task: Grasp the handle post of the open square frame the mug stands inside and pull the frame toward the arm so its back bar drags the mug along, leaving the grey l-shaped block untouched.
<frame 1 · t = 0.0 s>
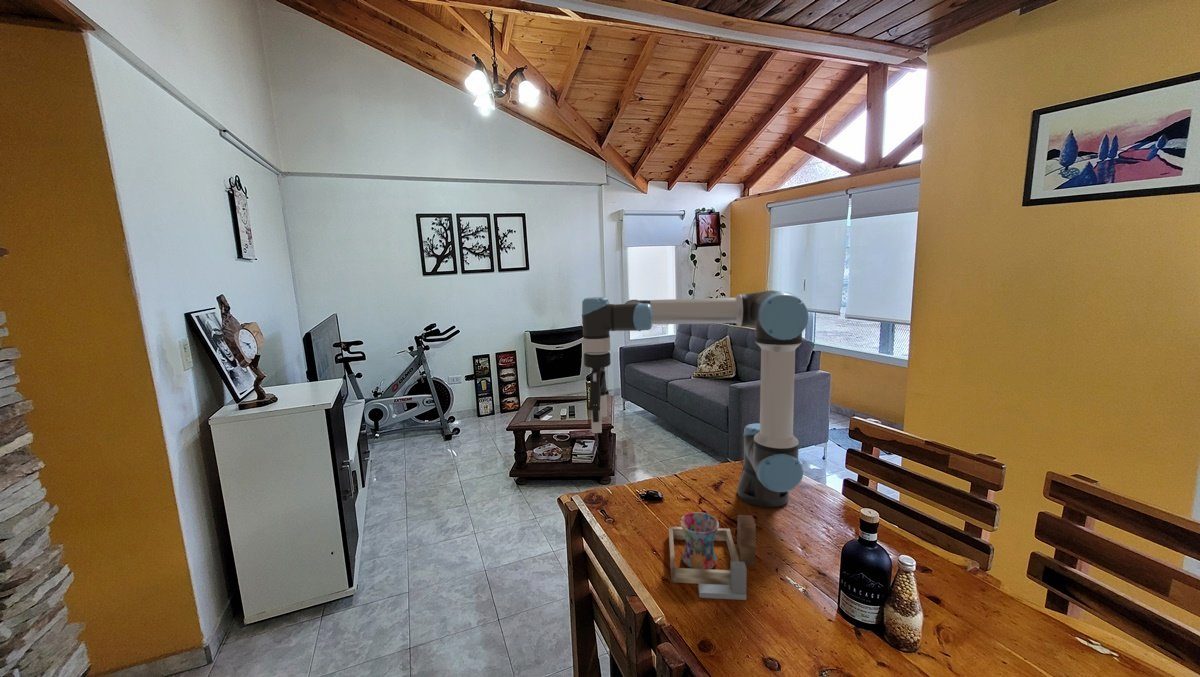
hand: (599, 424, 130), 28 cm above the table, fingers open, 13 cm apart
grey l-shaped block: (721, 579, 99), point 4 cm above the table, slide at 0.0 cm
open square frame: (711, 539, 111), point 6 cm above the table, slide at 0.0 cm
mug: (702, 560, 112), resting in open square frame
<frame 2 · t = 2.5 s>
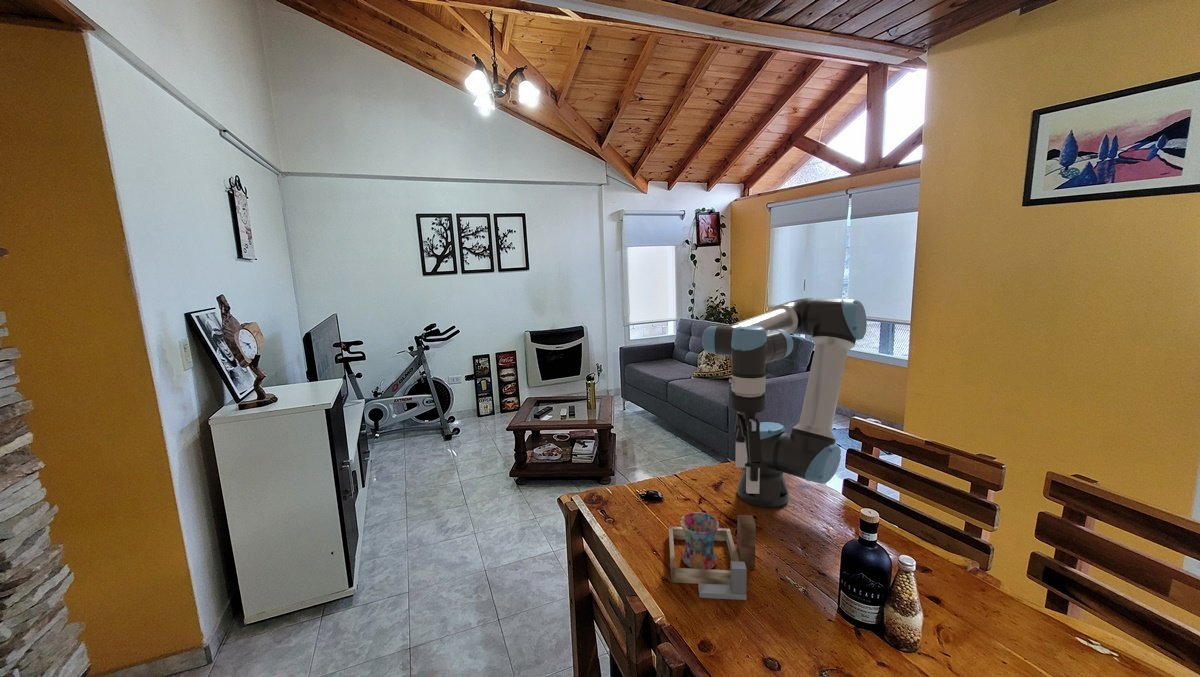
hand: (746, 479, 107), 21 cm above the table, fingers open, 13 cm apart
nothing on the table moved.
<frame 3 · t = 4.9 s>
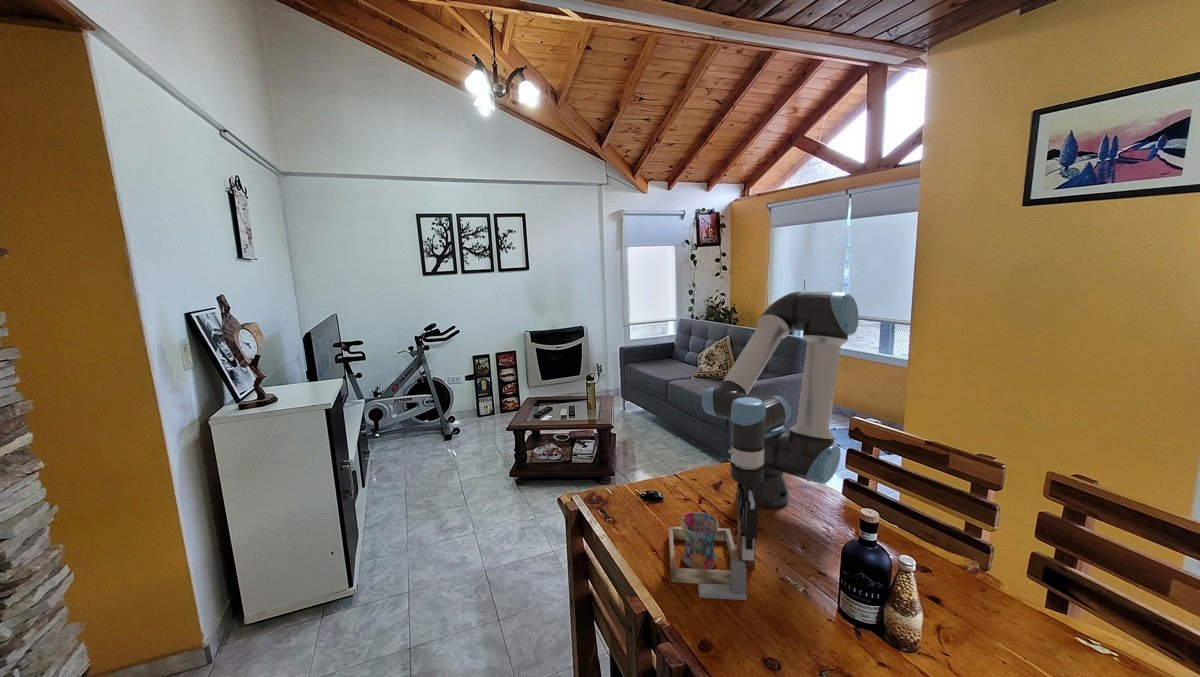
hand: (746, 552, 110), 2 cm above the table, fingers closed on open square frame, 4 cm apart
open square frame: (711, 539, 111), point 6 cm above the table, slide at 0.0 cm, touching gripper
everything else where it was.
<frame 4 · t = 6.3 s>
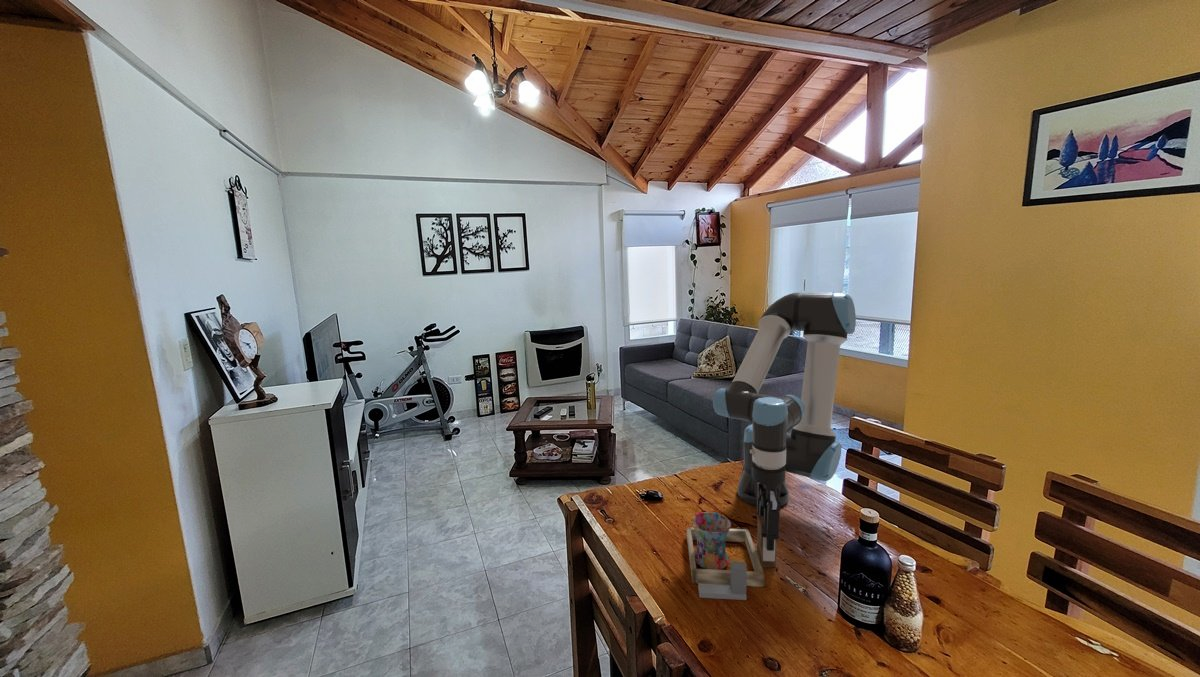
hand: (766, 553, 110), 2 cm above the table, fingers closed on open square frame, 4 cm apart
open square frame: (731, 539, 110), point 6 cm above the table, slide at 4.8 cm, touching gripper, mug
mug: (713, 559, 112), resting in open square frame
everything else where it was.
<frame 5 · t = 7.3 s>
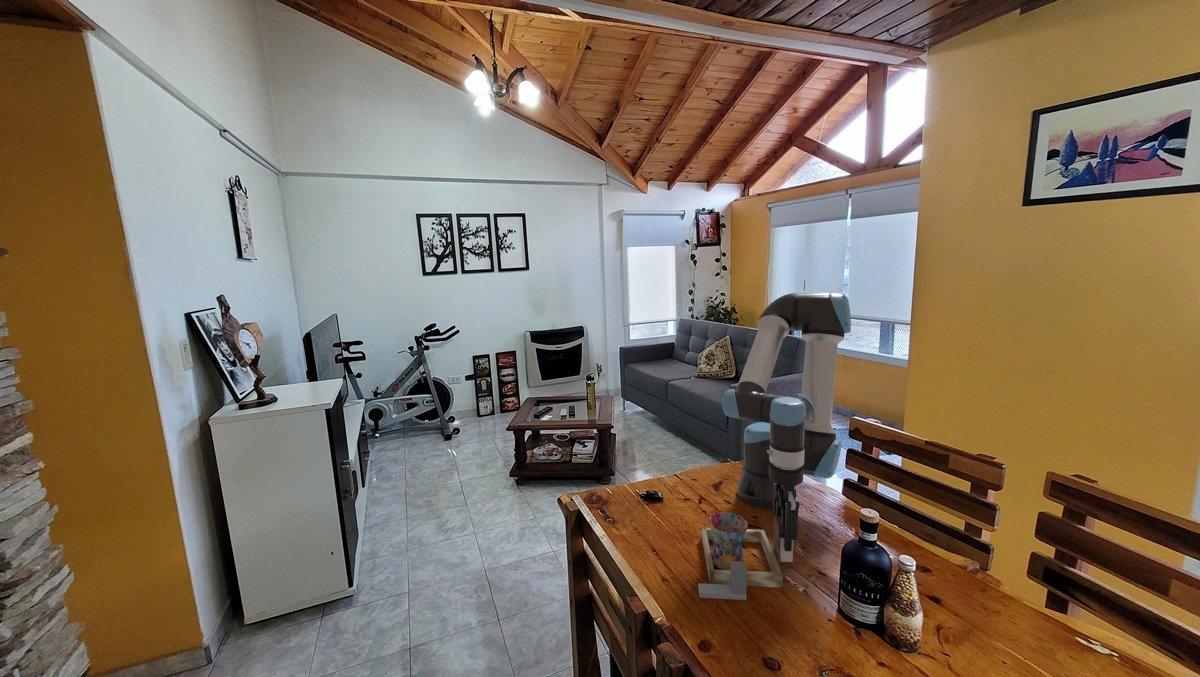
hand: (783, 554, 109), 2 cm above the table, fingers closed on open square frame, 4 cm apart
open square frame: (747, 540, 110), point 6 cm above the table, slide at 8.8 cm, touching gripper, mug
mug: (729, 560, 111), resting in open square frame
everything else where it was.
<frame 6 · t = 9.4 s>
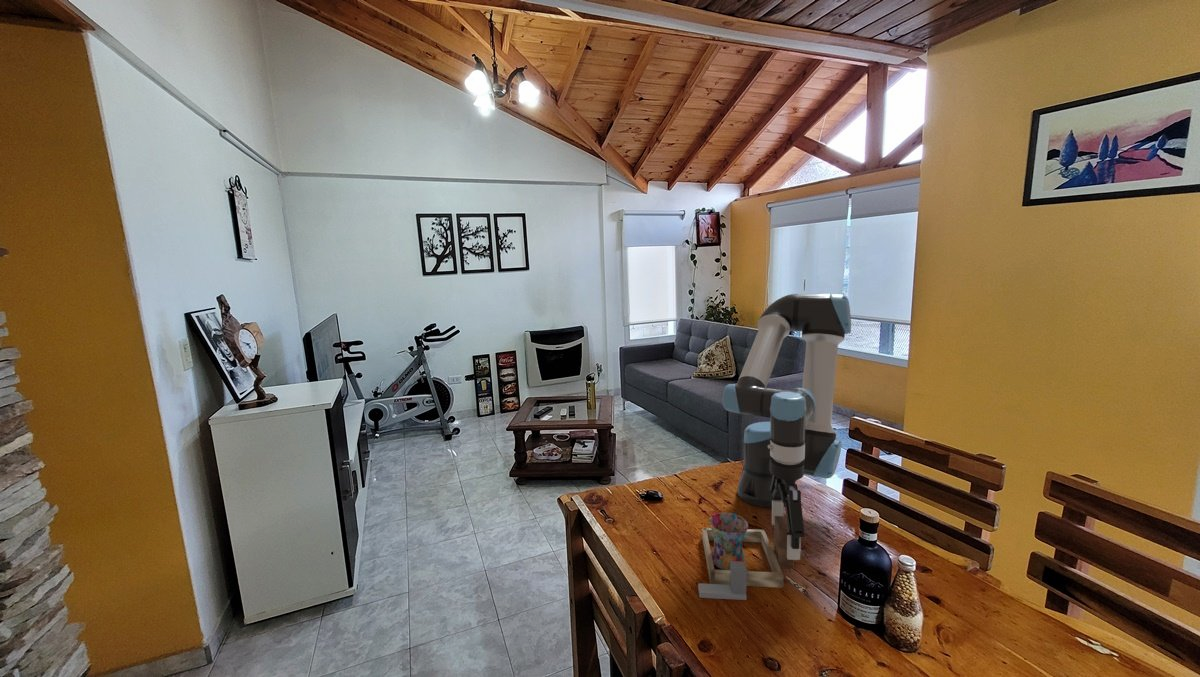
hand: (784, 540, 109), 6 cm above the table, fingers open, 13 cm apart
open square frame: (748, 540, 110), point 6 cm above the table, slide at 8.9 cm
mug: (730, 560, 111), resting in open square frame
everything else where it was.
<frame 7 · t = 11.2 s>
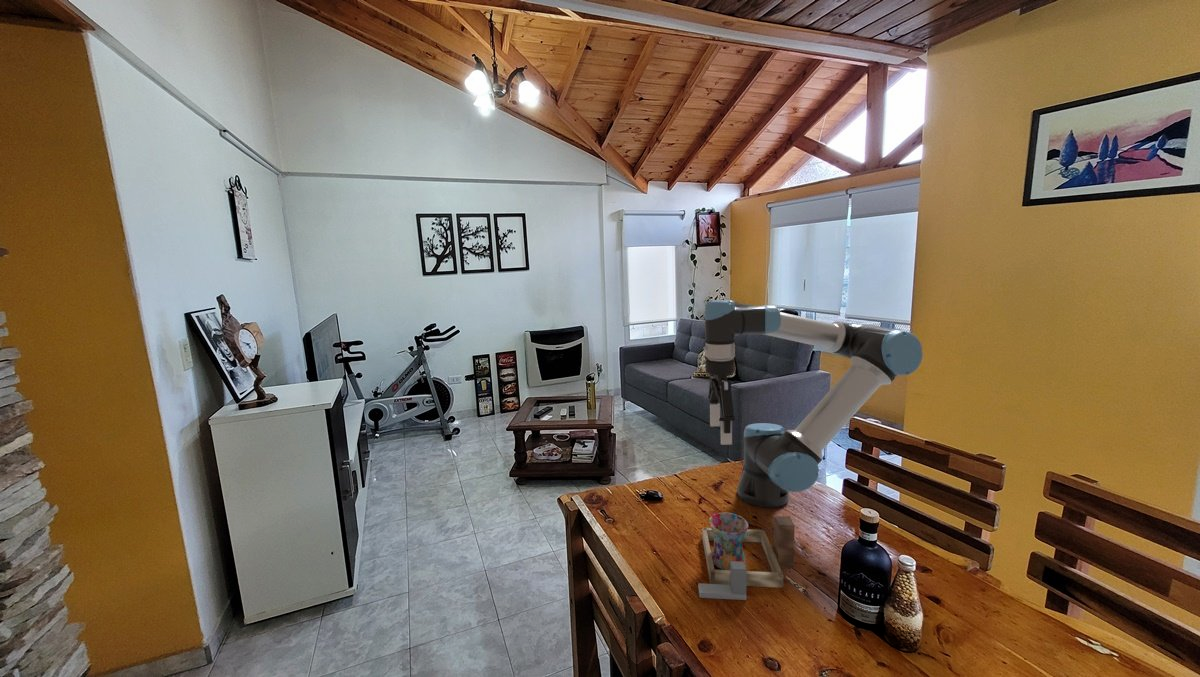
hand: (720, 434, 123), 27 cm above the table, fingers open, 13 cm apart
nothing on the table moved.
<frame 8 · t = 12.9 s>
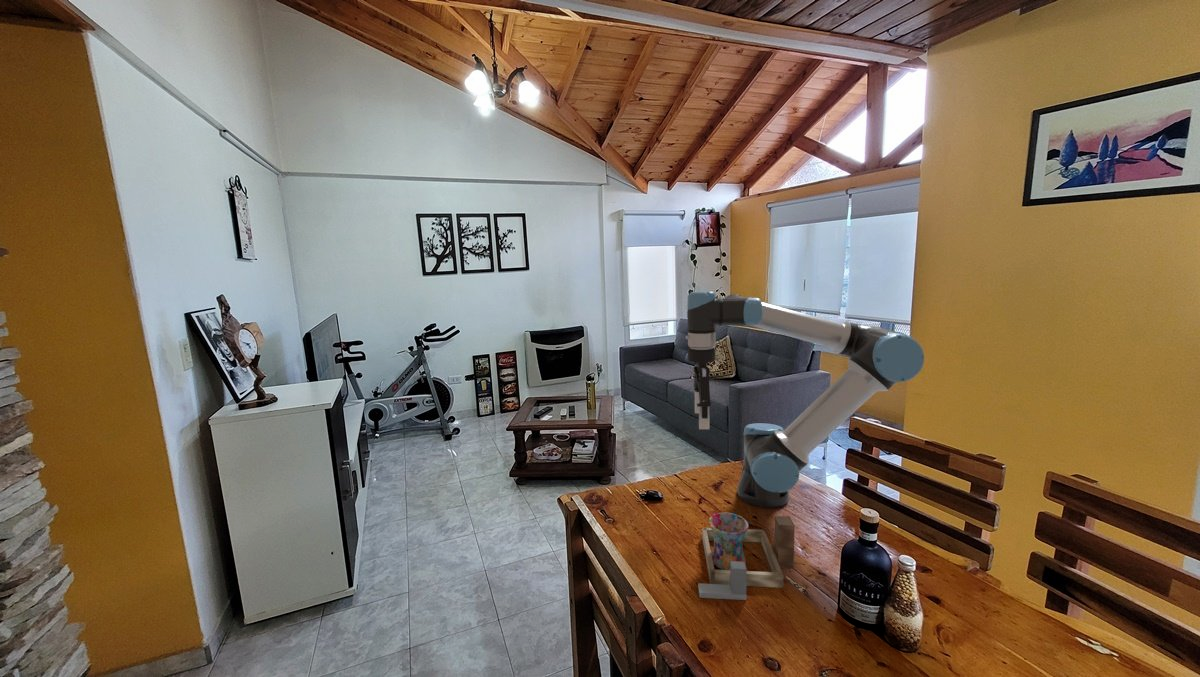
hand: (701, 420, 128), 29 cm above the table, fingers open, 13 cm apart
nothing on the table moved.
at the end: open square frame slide at 8.9 cm; mug inside the target area (0.5 cm from its centre), resting in open square frame; mug tilted 0° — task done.
